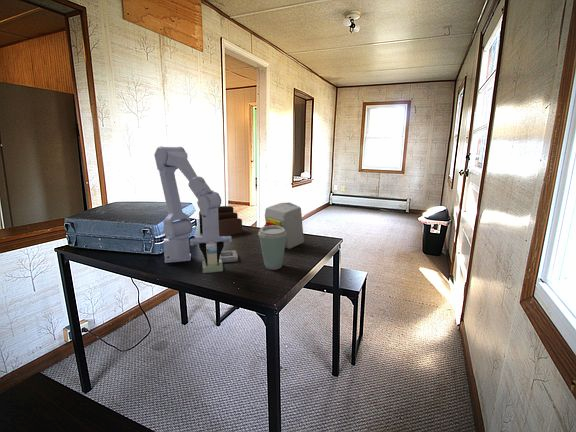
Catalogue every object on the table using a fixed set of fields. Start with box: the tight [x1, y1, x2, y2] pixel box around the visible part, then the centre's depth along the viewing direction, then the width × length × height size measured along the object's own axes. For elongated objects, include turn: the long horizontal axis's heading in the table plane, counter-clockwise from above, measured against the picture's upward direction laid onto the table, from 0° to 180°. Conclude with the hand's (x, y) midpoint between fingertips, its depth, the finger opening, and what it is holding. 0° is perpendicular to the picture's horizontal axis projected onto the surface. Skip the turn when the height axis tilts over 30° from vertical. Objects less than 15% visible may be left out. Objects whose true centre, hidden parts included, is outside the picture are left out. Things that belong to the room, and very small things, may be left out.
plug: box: [206, 247, 217, 266], centre depth 110 cm, size 4×4×7 cm
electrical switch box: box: [263, 202, 305, 250], centre depth 137 cm, size 14×15×20 cm
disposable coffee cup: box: [257, 225, 287, 270], centre depth 111 cm, size 11×11×15 cm
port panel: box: [219, 249, 239, 264], centre depth 120 cm, size 12×8×2 cm, turn 106°
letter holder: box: [198, 205, 244, 237], centre depth 155 cm, size 10×20×14 cm, turn 130°
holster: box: [201, 259, 224, 274], centre depth 110 cm, size 7×7×2 cm
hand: (212, 262), depth 110 cm, fingers closed on plug, 3 cm apart
